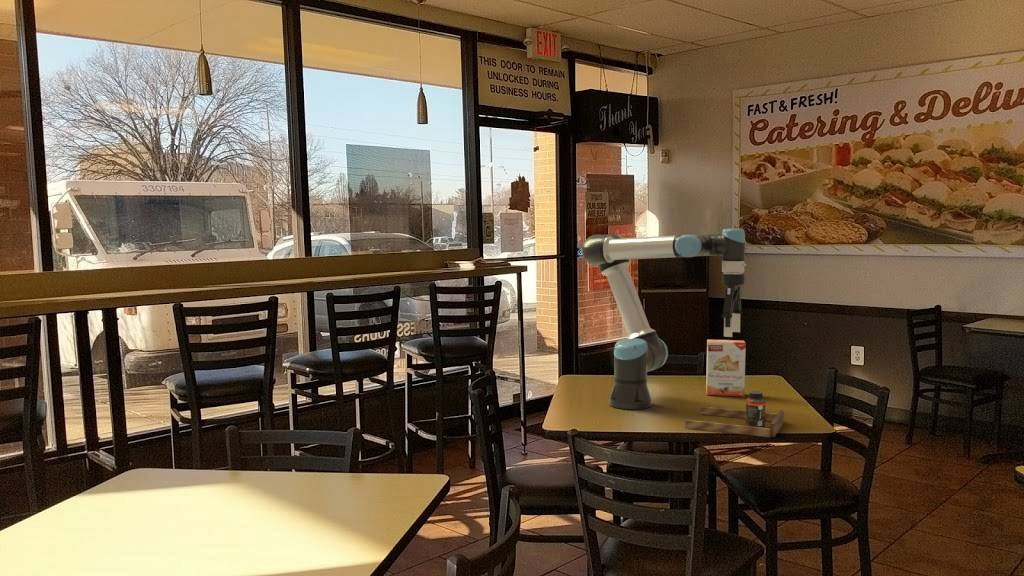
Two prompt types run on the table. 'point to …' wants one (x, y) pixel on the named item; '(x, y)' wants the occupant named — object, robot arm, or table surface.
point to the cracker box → (725, 367)
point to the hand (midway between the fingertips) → (732, 334)
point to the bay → (737, 429)
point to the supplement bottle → (755, 410)
